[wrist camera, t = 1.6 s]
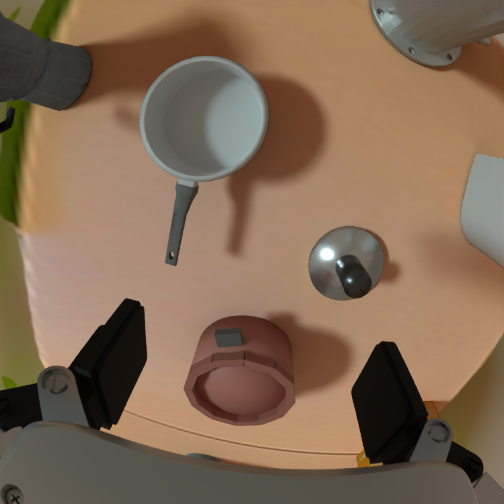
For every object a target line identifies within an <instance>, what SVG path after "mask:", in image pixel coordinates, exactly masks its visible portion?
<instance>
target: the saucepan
mask: <svg viewBox="0 0 504 504" xmlns="http://www.w3.org/2000/svg"><path fill="white" fill-rule="evenodd" d="M268 121H269V110H268V103H267V99H266V95H265V93H264V91H263V89H262V87H261V85H260V83H259V82H258V80H257V79H256V78H255V77H254V75H253V74H252V73H251V72H250V71H248V70H247V69H246V68H245V67H243V66H242V65H240V64H238V63H236V62H234V61H232V60H230V59H226V58H222V57H218V56H199V57H192V58H189V59H186V60H183V61H180V62H178V63H177V64H175V65H173V66H171V67H169V68H168V69H167V70H166V71H164V72H163V73H162V74H161V75H160V76H159V77H158V78H157V79H156V80H155V81H154V83H153V84H152V85H151V87H150V88H149V90H148V92H147V94H146V95H145V98H144V101H143V104H142V107H141V112H140V133H141V137H142V141H143V144H144V146H145V148H146V150H147V152H148V154H149V155H150V157H151V158H152V159H153V161H154V162H155V163H156V164H157V165H158V166H159V167H161V168H162V169H163V170H164V171H166V172H168V173H169V174H171V175H173V176H175V177H178V178H179V179H178V182H177V184H176V188H175V189H176V199H175V204H174V212H173V217H172V223H171V229H170V235H169V241H168V247H167V253H166V260H165V263H166V264H170V265H173V266H176V265H177V261H178V255H179V250H180V245H181V240H182V235H183V230H184V225H185V220H186V216H187V213H188V211H189V208H190V206H191V203H192V201H193V199H194V197H195V196H196V194H197V192H198V188H199V186H198V182H205V181H213V180H217V179H221V178H224V177H226V176H228V175H231V174H233V173H235V172H236V171H238V170H239V169H241V168H242V167H243V166H245V165H246V164H247V163H248V162H249V161H250V160H251V159H252V158H253V157H254V156H255V154H256V152H257V151H258V149H259V148H260V146H261V145H262V142H263V140H264V137H265V135H266V132H267V127H268ZM171 252H173V253H174V257H172V255H171Z"/></svg>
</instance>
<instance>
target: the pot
mask: <svg viewBox="0 0 504 504" xmlns="http://www.w3.org/2000/svg"><path fill="white" fill-rule="evenodd" d="M184 391H185V393H186V395H187V397H188V399H189V401H190V403H191V405H193V407H194V408H196V409H197V410H199V411H200V412H201V413H203V414H204V415H206V416H207V417H209V418H212V419H213V420H216V421H220V422H224V423H227V424H231V425H236V426H248V425H263V424H266V423H268V422H271V421H274V420H276V419H279V418H281V417H282V416H284V415H285V414H286V413H287V412H288V411H289V409H290V408H291V407H292V406H293V405H294V404H295V390H294V377H293V362H292V349H291V344H290V341H289V339H288V338H287V336H286V335H285V333H284V332H283V331H282V330H281V329H280V328H278V327H277V326H276V325H274V324H272V323H271V322H269V321H266V320H264V319H261V318H257V317H252V316H231V317H226V318H223V319H220V320H218V321H216V322H214V323H212V324H211V325H210V326H208V327H207V328H206V329H205V331H204V332H203V333H202V335H201V337H200V340H199V343H198V346H197V349H196V352H195V356H194V359H193V362H192V365H191V368H190V371H189V374H188V377H187V380H186V382H185V386H184Z"/></svg>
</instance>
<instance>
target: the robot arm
mask: <svg viewBox="0 0 504 504" xmlns="http://www.w3.org/2000/svg"><path fill="white" fill-rule="evenodd" d="M370 10H371V14H372V17H373V19H374V22H375V24H376V26H377V27H378V29H379V30H380V32H381V33H382V35H383V36H384V37H385V38H386V40H387V41H388V42H389V43H390V44H391V45H392V46H393V47H394V48H395V49H396V50H398V51H399V52H400V53H402V54H403V55H404V56H406V57H408V58H409V59H411V60H413V61H415V62H417V63H419V64H422V65H426V66H430V67H441V66H446V65H449V64H451V63H453V62H454V61H456V60H457V58H458V57H459V56H460V53H461V51H462V46H463V45H466V44H469V43H472V42H477V43H479V44H482V45H485V46H489V45H490V44H491V38H490V37H491V36H494V35H498V34H501V33H504V0H370ZM409 51H410V52H409ZM146 360H147V347H146V332H145V313H144V307H143V306H141V304H140V302H139V301H135V300H131V299H128V298H126V299H124V301H123V302H122V303H121V304H120V306H119V307H118V308H117V309H116V311H115V312H114V313H113V314H112V316H111V317H110V318H109V320H108V321H107V322H106V324H105V325H101V326H99V327H98V328H97V330H96V331H95V332H94V334H93V335H92V336H91V338H90V339H89V340H88V342H87V343H86V344H85V346H84V347H83V348H82V350H81V351H80V352H79V354H78V355H77V356H76V358H75V359H74V361H73V362H72V363H71V365H70V366H69V367H68V369H67V368H65V367H63V366H51V367H48V368H46V369H44V370H43V371H42V372H41V373H40V375H39V377H38V380H37V383H35V384H31V385H26V386H21V387H16V388H11V389H6V390H1V391H0V504H504V489H503V488H502V487H501V486H500V485H499V484H498V483H497V482H496V481H495V480H494V479H493V478H492V477H491V476H490V475H489V474H488V473H487V472H485V473H483V463H482V460H481V459H480V458H479V457H478V456H477V455H476V454H474V453H472V452H470V451H469V450H466V449H465V448H464V447H462V446H460V445H458V444H457V443H455V442H453V441H452V439H453V433H452V429H451V427H450V426H449V425H448V424H447V423H446V422H445V421H443V420H441V419H439V418H433V419H430V420H428V419H427V416H428V415H429V414H428V412H427V410H426V407H425V405H424V403H423V400H422V398H421V396H420V394H419V391H418V389H417V387H416V385H415V383H414V380H413V378H412V376H411V374H410V372H409V370H408V368H407V366H406V364H405V362H404V360H403V358H402V355H401V353H400V351H399V349H398V347H397V345H396V344H395V343H394V342H386V341H382V342H380V343H379V344H377V345H376V346H375V348H374V350H373V351H372V353H371V355H370V357H369V359H368V361H367V363H366V364H365V366H364V368H363V370H362V372H361V373H360V375H359V377H358V379H357V380H356V382H355V384H354V385H353V387H352V391H351V394H352V399H353V403H354V407H355V411H356V415H357V420H358V424H359V428H360V433H361V437H362V442H363V447H364V451H365V456H366V457H367V458H369V462H370V464H376V463H382V464H383V465H380V466H370V467H359V468H346V469H279V468H265V467H254V466H245V465H237V464H229V463H223V462H216V461H211V460H205V459H200V458H195V457H190V456H186V455H181V454H177V453H173V452H169V451H165V450H161V449H157V448H154V447H150V446H147V445H143V444H140V443H136V442H133V441H130V440H127V439H124V438H121V437H118V436H115V435H112V434H109V433H106V432H103V431H100V428H101V427H103V428H105V429H108V430H110V429H111V427H112V424H114V425H116V424H117V423H118V421H119V419H120V417H121V414H122V412H123V410H124V408H125V406H126V403H127V401H128V399H129V397H130V395H131V393H132V391H133V389H134V386H135V384H136V382H137V380H138V378H139V376H140V374H141V372H142V370H143V368H144V366H145V363H146Z"/></svg>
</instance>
